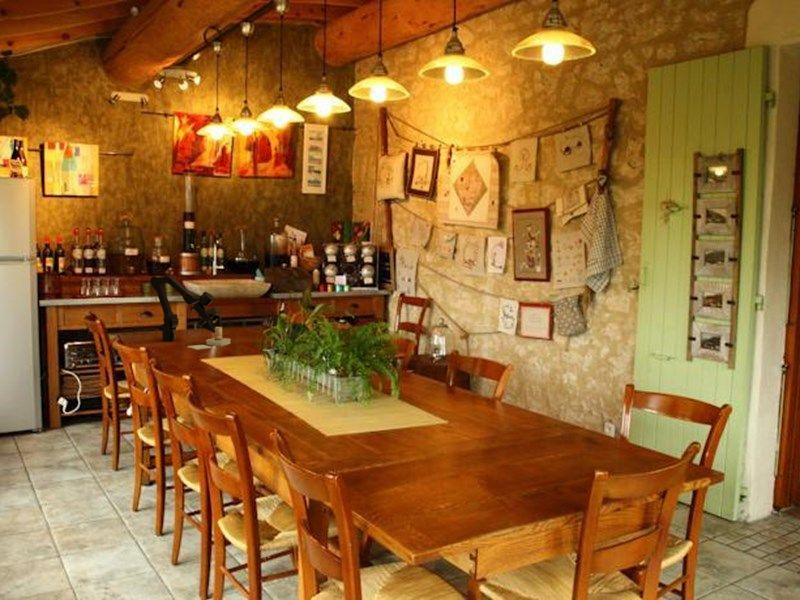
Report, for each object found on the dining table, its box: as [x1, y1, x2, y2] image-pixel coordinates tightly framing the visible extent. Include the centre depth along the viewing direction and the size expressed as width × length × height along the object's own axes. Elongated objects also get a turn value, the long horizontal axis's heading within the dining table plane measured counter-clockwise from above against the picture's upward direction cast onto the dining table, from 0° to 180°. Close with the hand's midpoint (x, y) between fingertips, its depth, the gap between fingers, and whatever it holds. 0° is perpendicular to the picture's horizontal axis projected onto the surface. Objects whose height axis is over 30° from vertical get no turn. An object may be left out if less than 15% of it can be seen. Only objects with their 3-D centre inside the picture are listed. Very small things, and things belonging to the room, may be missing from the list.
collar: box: [205, 337, 231, 347], centre depth 457 cm, size 10×10×3 cm
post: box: [214, 326, 223, 340], centre depth 456 cm, size 4×4×10 cm
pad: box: [186, 344, 213, 351], centre depth 443 cm, size 10×10×1 cm
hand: (218, 331), depth 456 cm, fingers open, 9 cm apart
